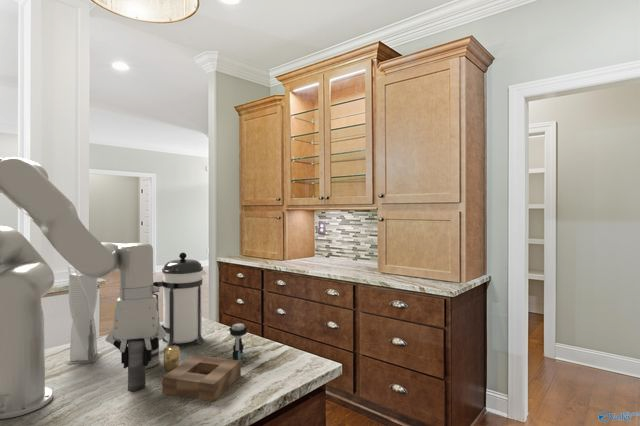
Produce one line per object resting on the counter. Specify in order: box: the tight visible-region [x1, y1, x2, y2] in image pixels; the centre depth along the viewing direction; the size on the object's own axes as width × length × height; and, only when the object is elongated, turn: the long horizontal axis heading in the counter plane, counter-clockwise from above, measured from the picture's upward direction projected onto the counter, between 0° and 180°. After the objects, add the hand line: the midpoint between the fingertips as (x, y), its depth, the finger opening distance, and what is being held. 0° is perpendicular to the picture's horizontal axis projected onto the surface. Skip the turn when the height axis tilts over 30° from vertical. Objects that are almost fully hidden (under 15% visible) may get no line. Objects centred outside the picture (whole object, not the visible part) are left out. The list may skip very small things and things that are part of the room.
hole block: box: [161, 354, 242, 402], centre depth 98 cm, size 14×14×4 cm
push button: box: [228, 322, 248, 361], centre depth 115 cm, size 7×5×10 cm
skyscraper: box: [66, 265, 104, 365], centre depth 113 cm, size 8×8×28 cm
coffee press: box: [153, 252, 207, 347], centre depth 125 cm, size 17×16×30 cm
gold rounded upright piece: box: [163, 345, 180, 374], centre depth 106 cm, size 4×4×6 cm
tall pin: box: [127, 339, 147, 392], centre depth 96 cm, size 4×4×12 cm
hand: (136, 364), depth 96 cm, fingers closed on tall pin, 4 cm apart
